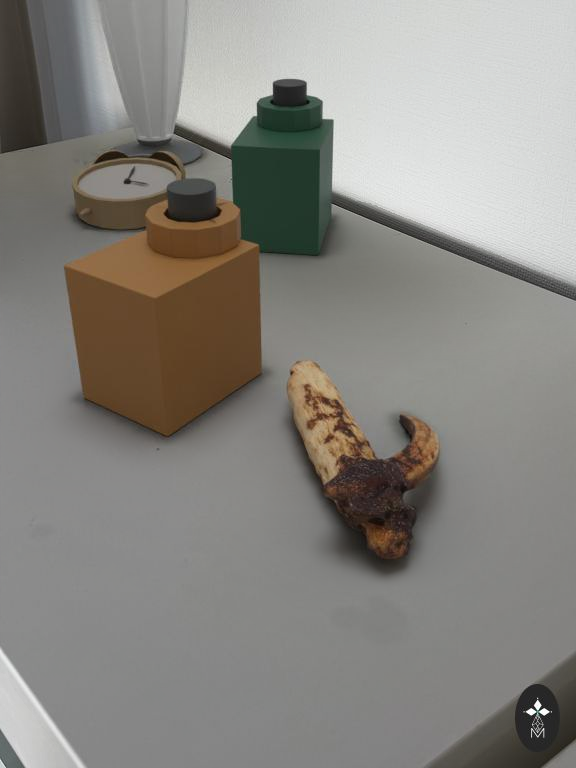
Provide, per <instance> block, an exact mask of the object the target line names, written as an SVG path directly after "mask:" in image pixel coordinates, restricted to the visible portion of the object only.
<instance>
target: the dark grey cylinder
mask: <svg viewBox="0 0 576 768" xmlns="http://www.w3.org/2000/svg"><path fill="white" fill-rule="evenodd" d="M216 198H217V185H216V183H215V182H214V181H212V180H210V179H205V178H197V177H196V178H195V177H191V178H190V177H189V178H185V179H181V180H177V181H173V182H171V183H169V184H168V185H167V200H168V213H169V219H170V220H174V221H177V222H193V223H195V222H202V221H208V220H211V219H214V218H216V217H217V200H216Z"/></svg>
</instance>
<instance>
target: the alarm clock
mask: <svg viewBox="0 0 576 768" xmlns="http://www.w3.org/2000/svg"><path fill="white" fill-rule="evenodd" d="M186 175H187V173H186V168H185V166H184V165H183V163H182V162H181V160H180V159H179V158H178V157H177V156H176V155H174V154H173V153H171V152H168V151H158V152H156V153H153V154H152V155H150V154H138V155H130V156H127V155H126V154H124V153H123V152H120V151H117V150H114V149H109V150H105V151H103V152H101V153H100V154H98V155H96V157H95V159H94V160H93V163H92V164H91V165H89V166H87V167H85V168H83V169H82V170H80V171H78V172H77V173H76V174H75V175H74V176H73V178H72V181H71V187H72V191H73V196H74V202H75V203H74V204H75V212H76V214H77V216H78V217H79V219H80V220H82V221H83V222H85V223H86V224H88V225H91V226H94V227H98V228H102V229H108V230H109V229H110V230H137V229H142V228H146V221H145V214H146V212H147V211H148V210H149V208H150V207H151V206H153V205H155V204H158V203H160V202H162V201H165V200H167V185H168V184H169V183H171V182H173V181H177V180H181V179H186Z"/></svg>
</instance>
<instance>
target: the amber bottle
mask: <svg viewBox="0 0 576 768" xmlns="http://www.w3.org/2000/svg"><path fill="white" fill-rule="evenodd" d="M216 200H217V217H216V218H214V219H211V220H208V221H202V222H195V223H193V222H177V221H174V220H170V219H169V213H168V200H165V201H162V202H160V203H158V204H155V205H153V206H151V207H150V208H149V210H148V211H147V212H146V214H145V221H146V227H145V230H141V231H140V232H138V233H136V234H133V235H131V236H129V237H127V238H124V239H121V240H120V241H116V242H114V243H112V244H110V245H108V246H105V247H103V248H101V249H98V250H96V251H94V252H92V253H89V254H87V255H84V256H82V257H80V258H78V259H75V260H73V261H71V262H68V263H66V264H64V265H63V270H64V276H65V284H66V290H67V296H68V302H69V310H70V317H71V324H72V330H73V331H72V332H73V337H74V343H75V349H76V357H77V363H78V370H79V377H80V384H81V390H82V397H83V399H86V400H88V401H90V402H93V403H94V404H96V405H98V406H101V407H102V408H105V409H107V410H109V411H112V412H114V413H116V414H118V415H121V416H123V417H124V418H126V419H129V420H131V421H133V422H136V424H140V425H141V426H143V427H146V428H148V429H151V431H155V432H157V433H158V434H160V435H163V436H165V437H169V436H171V435H172V434H174V433H175V432H177V431H178V430H181V428H183V427H184V426H185V425H187V424H189V423H190V422H191V421H193V420H194V419H196V418H197V417H198V416H200V415H202V414H203V413H205V412H206V411H208V410H209V409H211V408H212V407H214V406H215V405H217V404H218V403H219V402H221V401H222V400H224V399H225V398H227V397H229V396H230V395H231V394H233V393H234V392H236V391H237V390H239V389H240V388H241V387H243V386H244V385H246V384H248V383H249V382H250V381H252V380H253V379H255V378H257V377H258V376H260V375H261V374H262V373H263V359H262V357H263V356H262V316H261V315H262V314H261V313H262V311H261V268H260V267H261V263H260V251H259V245H258V244H255V243H252V242H248V241H245V240H241V239H240V238H241V218H240V209H239V208H238V207H237V206H236V205H235V204H234V203H233V201H231V200H228V199H224V198H219V197H216Z"/></svg>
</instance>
